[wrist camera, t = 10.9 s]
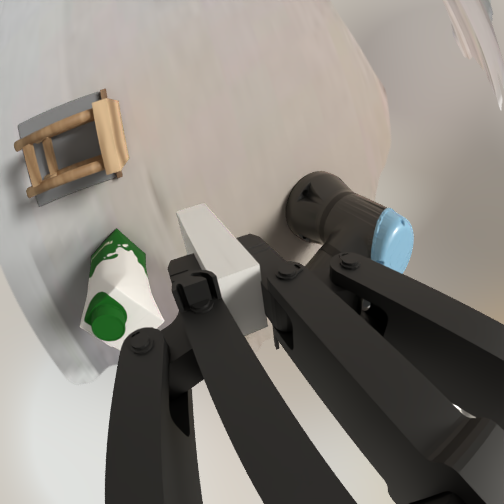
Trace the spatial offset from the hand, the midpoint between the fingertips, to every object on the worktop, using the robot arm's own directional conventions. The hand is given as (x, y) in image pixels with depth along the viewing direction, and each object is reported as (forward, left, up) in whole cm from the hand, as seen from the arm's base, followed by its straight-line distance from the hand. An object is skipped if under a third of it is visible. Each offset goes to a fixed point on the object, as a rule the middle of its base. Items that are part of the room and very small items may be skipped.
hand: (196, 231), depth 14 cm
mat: (+13, -5, -30) cm, 33 cm away
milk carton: (+9, +15, -31) cm, 35 cm away
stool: (+4, -5, -25) cm, 25 cm away
